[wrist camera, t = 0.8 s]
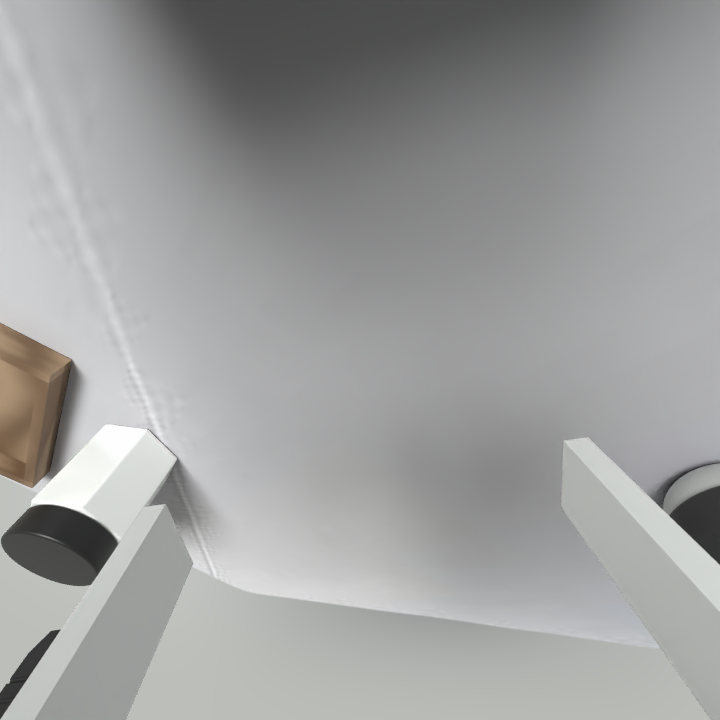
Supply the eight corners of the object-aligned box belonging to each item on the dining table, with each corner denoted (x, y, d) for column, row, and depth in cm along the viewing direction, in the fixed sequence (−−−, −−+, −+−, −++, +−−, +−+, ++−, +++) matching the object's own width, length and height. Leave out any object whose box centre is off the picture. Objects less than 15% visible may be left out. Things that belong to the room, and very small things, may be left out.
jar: (112, 471, 44) (23, 578, 34) (86, 419, 40) (-25, 524, 30) (186, 482, 43) (116, 594, 34) (168, 429, 39) (82, 542, 29)
